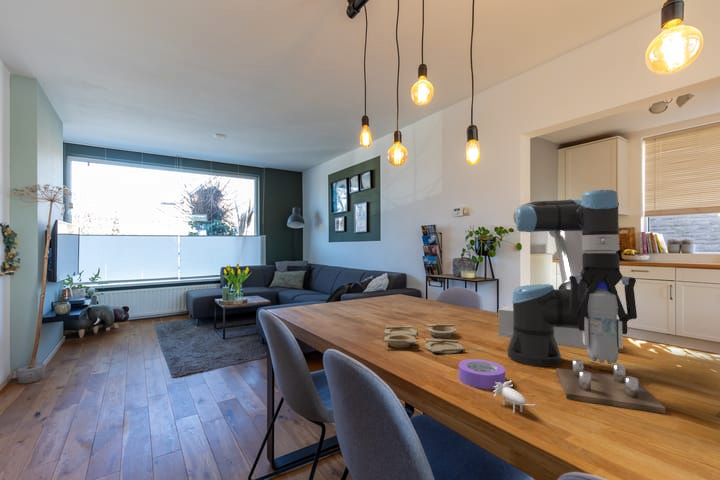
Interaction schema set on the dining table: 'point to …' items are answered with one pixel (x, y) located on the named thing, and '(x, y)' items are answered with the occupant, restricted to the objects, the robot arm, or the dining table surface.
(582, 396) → the peg base
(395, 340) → the tableware set
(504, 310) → the grey rectangular block
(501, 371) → the masking tape
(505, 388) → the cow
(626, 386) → the pegs
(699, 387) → the dining table surface
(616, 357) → the bottle
